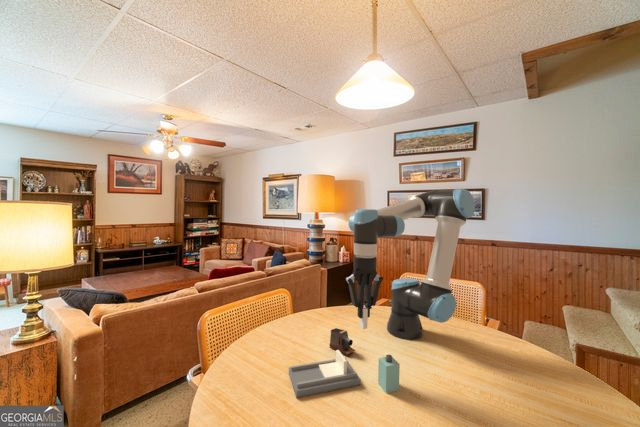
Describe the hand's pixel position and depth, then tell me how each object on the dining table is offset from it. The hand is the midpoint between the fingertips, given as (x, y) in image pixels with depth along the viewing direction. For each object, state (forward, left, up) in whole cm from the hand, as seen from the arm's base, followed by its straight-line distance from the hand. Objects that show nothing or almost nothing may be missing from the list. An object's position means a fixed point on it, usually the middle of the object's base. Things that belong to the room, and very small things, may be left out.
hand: (363, 326), depth 90 cm
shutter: (+11, 0, -13) cm, 17 cm away
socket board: (+14, 0, -15) cm, 20 cm away
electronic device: (+1, -15, -16) cm, 21 cm away
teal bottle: (-4, +9, -15) cm, 18 cm away
